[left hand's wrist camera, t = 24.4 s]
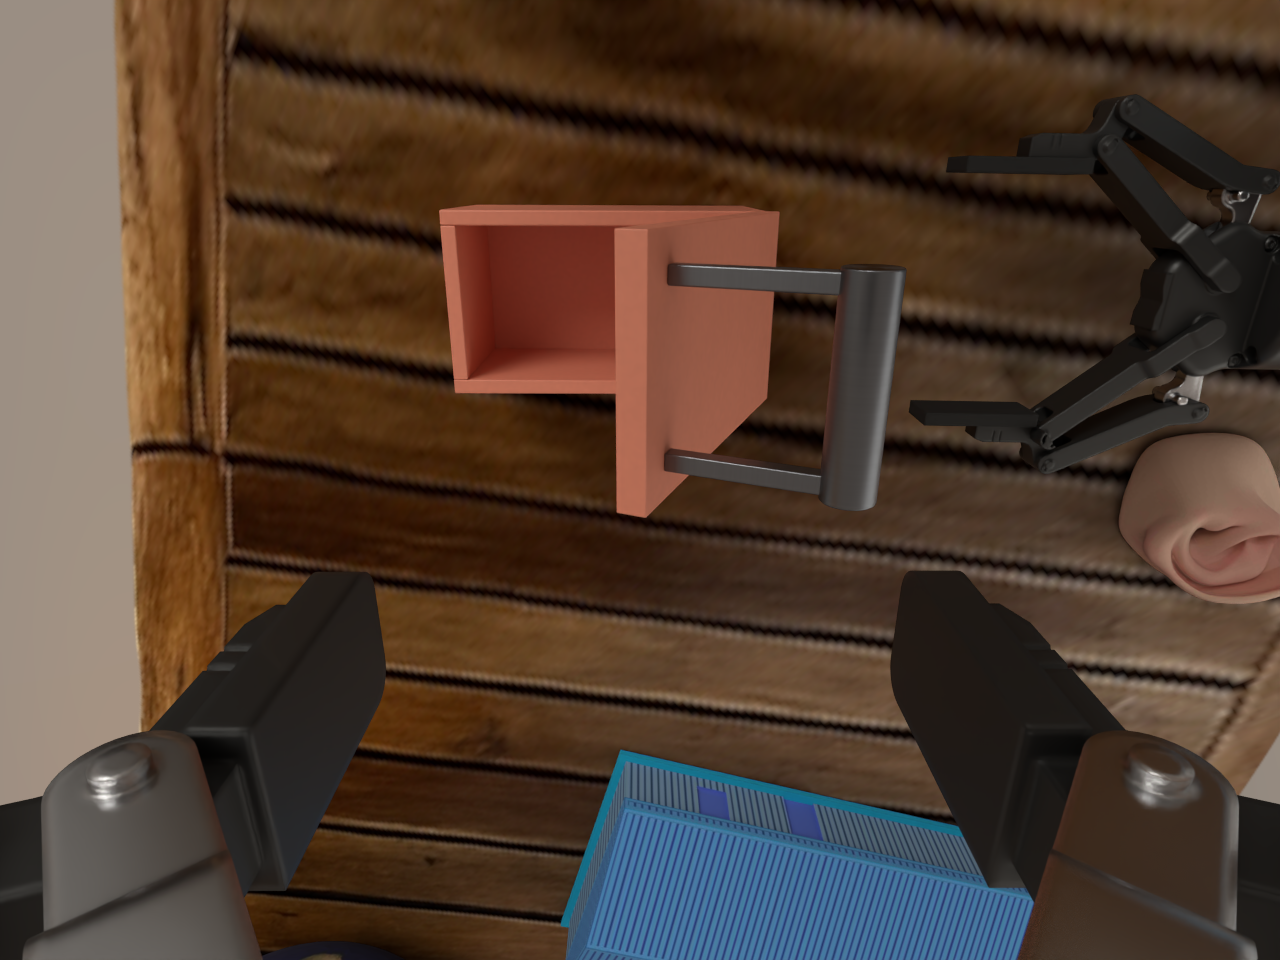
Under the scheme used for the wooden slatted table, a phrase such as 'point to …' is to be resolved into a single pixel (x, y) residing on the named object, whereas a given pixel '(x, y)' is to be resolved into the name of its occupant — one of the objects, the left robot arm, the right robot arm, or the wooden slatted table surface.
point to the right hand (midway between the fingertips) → (935, 295)
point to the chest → (539, 293)
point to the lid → (739, 359)
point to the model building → (776, 877)
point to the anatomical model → (1207, 516)
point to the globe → (331, 952)
